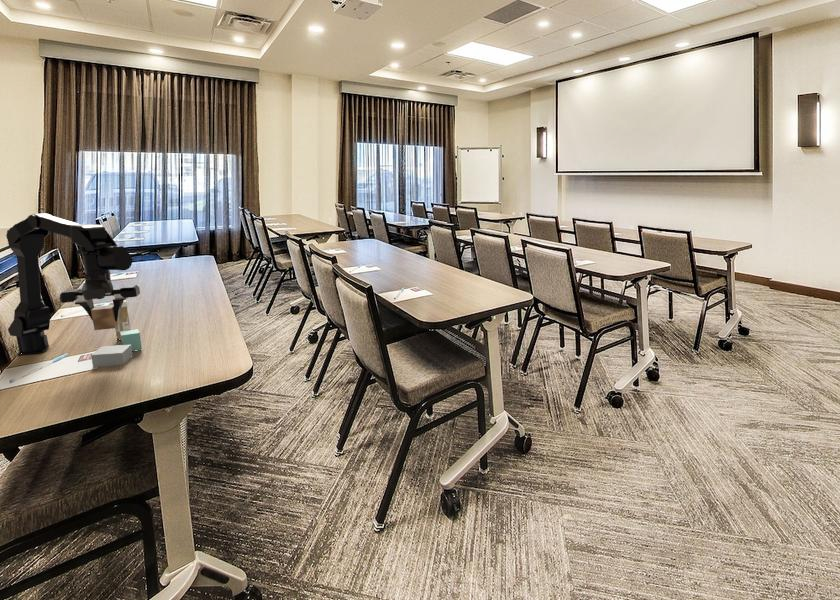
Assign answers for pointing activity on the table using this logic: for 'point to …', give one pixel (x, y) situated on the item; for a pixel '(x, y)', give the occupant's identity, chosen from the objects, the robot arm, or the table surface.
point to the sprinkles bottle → (122, 320)
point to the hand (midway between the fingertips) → (106, 322)
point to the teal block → (131, 339)
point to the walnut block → (104, 317)
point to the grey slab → (112, 355)
